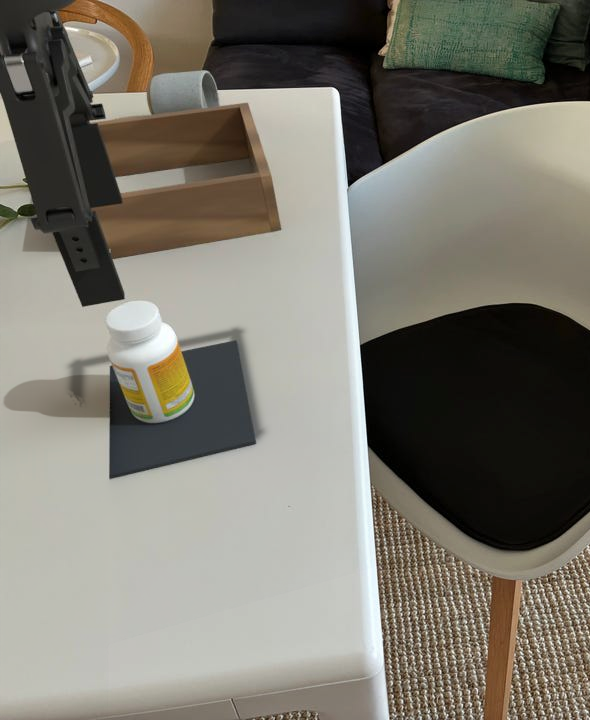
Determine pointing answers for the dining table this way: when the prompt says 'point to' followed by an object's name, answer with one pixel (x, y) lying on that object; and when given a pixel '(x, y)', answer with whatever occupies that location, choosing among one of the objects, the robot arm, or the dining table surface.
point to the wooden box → (190, 200)
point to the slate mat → (185, 416)
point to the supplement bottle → (148, 362)
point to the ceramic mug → (182, 92)
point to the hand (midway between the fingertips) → (104, 248)
